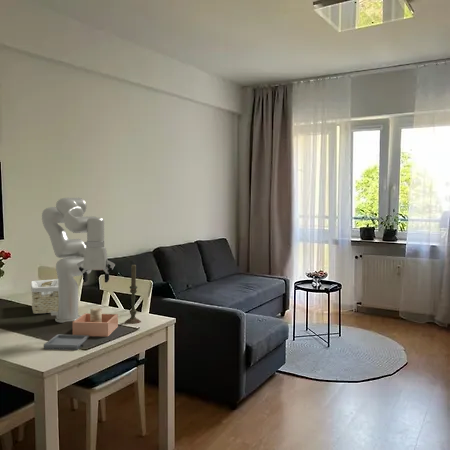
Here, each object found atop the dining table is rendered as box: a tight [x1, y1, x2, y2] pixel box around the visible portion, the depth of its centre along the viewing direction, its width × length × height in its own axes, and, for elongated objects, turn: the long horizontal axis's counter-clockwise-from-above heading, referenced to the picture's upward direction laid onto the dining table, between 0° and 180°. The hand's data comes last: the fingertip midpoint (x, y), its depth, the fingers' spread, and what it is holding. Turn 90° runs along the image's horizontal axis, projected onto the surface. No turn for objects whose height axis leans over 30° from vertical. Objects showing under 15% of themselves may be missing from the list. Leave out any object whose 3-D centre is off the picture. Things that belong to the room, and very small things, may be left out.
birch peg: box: [89, 307, 103, 322], centre depth 217 cm, size 5×5×10 cm
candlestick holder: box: [124, 264, 142, 325], centre depth 233 cm, size 9×9×30 cm
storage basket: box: [30, 278, 58, 315], centre depth 261 cm, size 24×16×15 cm
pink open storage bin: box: [72, 312, 119, 337], centre depth 217 cm, size 16×16×7 cm
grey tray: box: [43, 333, 90, 351], centre depth 201 cm, size 14×14×2 cm
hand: (96, 281), depth 216 cm, fingers open, 9 cm apart
